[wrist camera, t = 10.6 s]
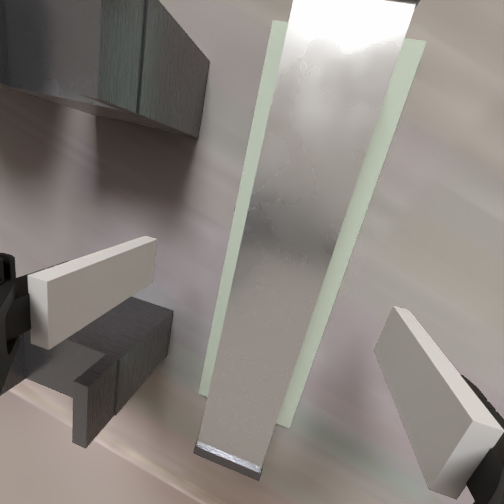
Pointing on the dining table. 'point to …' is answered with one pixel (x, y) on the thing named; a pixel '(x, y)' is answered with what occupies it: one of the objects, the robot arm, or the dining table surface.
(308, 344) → the mat
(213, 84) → the dining table surface
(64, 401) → the dining table surface
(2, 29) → the post
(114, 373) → the post
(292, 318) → the rail
